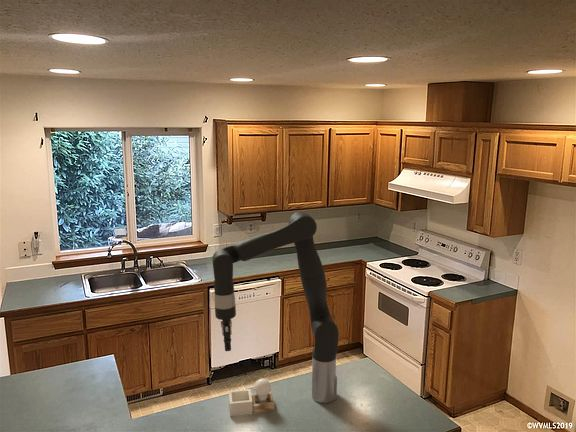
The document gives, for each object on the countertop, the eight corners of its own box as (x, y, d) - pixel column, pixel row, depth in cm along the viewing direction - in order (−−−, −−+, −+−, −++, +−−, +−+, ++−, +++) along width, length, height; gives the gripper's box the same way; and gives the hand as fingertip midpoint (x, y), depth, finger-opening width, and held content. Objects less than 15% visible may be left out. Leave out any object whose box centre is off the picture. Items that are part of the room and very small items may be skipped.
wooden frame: (271, 398, 180) (271, 391, 180) (274, 410, 173) (274, 403, 172) (251, 400, 179) (251, 393, 179) (253, 413, 171) (253, 405, 171)
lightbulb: (268, 411, 172) (268, 385, 170) (252, 409, 174) (252, 383, 171) (272, 401, 178) (272, 376, 176) (256, 400, 180) (256, 374, 178)
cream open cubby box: (250, 400, 179) (250, 388, 178) (252, 413, 171) (252, 401, 170) (229, 402, 178) (228, 390, 177) (230, 415, 170) (229, 403, 169)
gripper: (236, 310, 161) (238, 353, 164) (234, 296, 174) (236, 335, 178) (214, 312, 159) (217, 355, 163) (214, 298, 173) (217, 337, 176)
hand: (227, 345), depth 170 cm, fingers open, 8 cm apart
